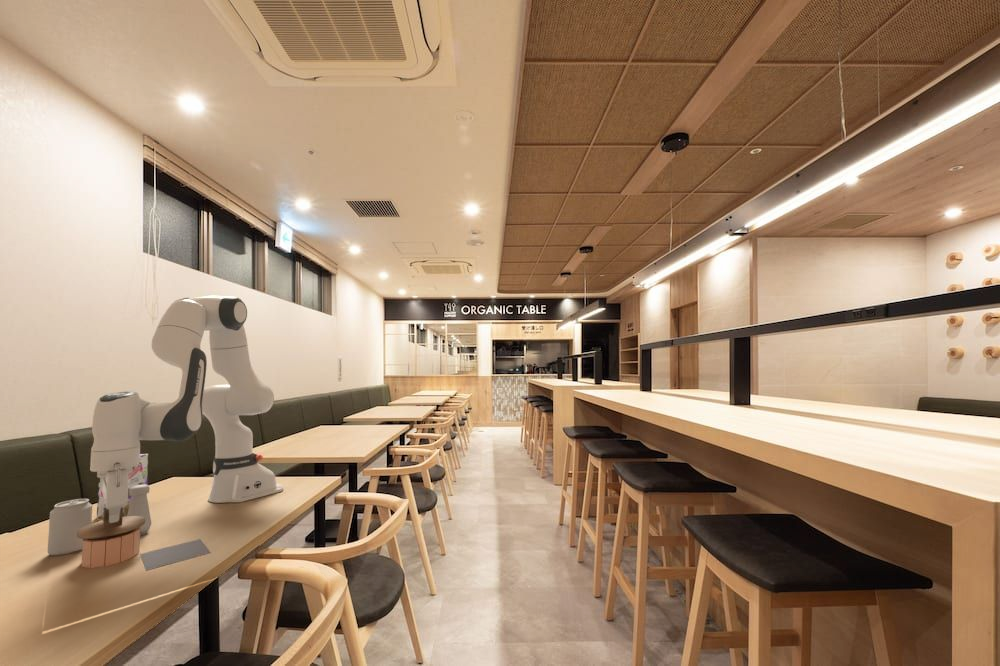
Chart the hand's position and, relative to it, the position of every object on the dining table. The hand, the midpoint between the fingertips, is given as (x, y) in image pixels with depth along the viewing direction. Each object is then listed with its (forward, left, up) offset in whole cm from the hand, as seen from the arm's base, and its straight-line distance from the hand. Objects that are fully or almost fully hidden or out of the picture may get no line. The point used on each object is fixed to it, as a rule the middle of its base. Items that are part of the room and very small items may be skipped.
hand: (113, 519), depth 101 cm
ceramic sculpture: (-3, -26, -10) cm, 28 cm away
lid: (0, 0, -2) cm, 2 cm away
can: (+7, -14, -9) cm, 18 cm away
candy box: (-5, -46, -9) cm, 47 cm away
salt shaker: (-6, -15, -9) cm, 19 cm away
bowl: (0, 0, -9) cm, 9 cm away
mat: (-11, +9, -9) cm, 17 cm away
